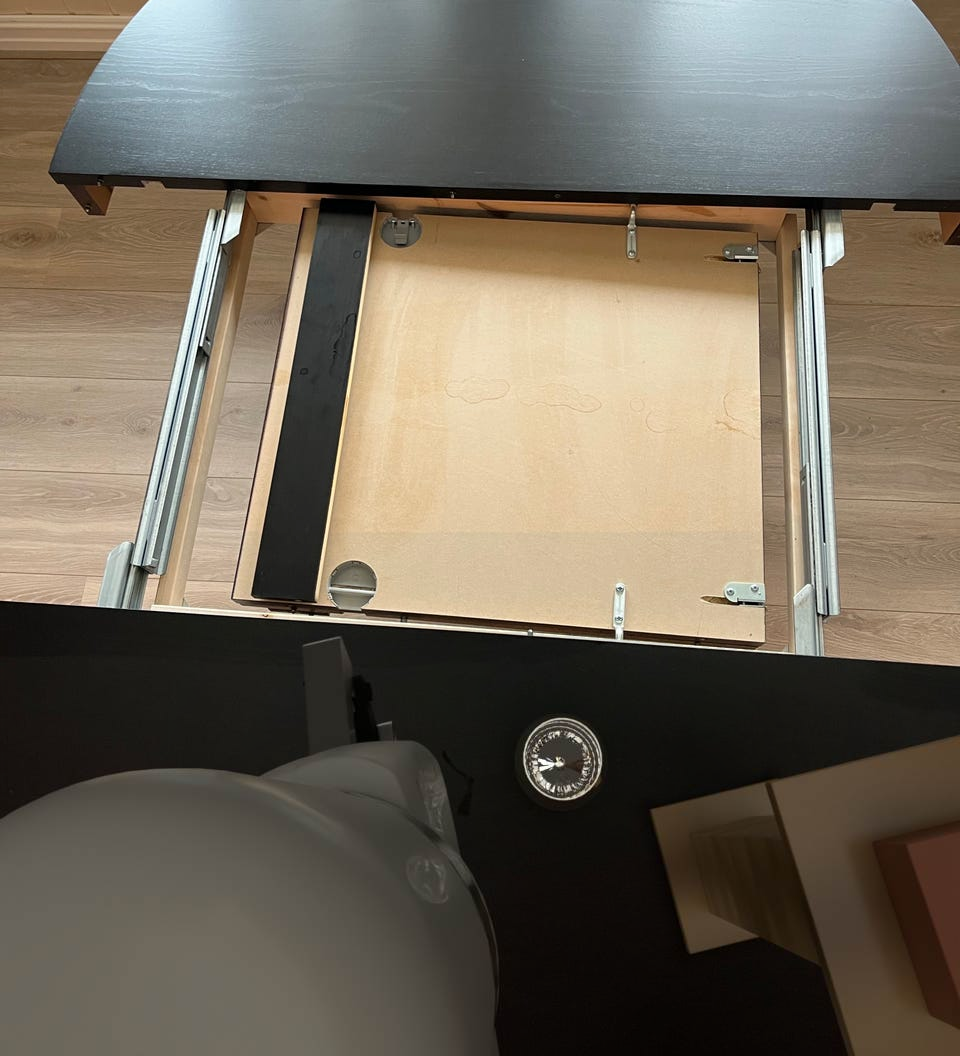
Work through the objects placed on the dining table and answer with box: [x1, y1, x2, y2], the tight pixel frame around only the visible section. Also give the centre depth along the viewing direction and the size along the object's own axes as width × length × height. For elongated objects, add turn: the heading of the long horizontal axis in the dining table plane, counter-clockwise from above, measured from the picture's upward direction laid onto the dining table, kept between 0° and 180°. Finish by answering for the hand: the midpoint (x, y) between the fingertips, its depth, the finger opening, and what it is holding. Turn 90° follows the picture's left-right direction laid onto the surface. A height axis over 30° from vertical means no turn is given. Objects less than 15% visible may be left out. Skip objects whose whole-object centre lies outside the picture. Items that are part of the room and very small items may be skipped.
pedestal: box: [649, 734, 960, 1056], centre depth 52 cm, size 10×10×41 cm
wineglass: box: [513, 712, 609, 812], centre depth 68 cm, size 6×6×12 cm
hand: (402, 916), depth 38 cm, fingers open, 9 cm apart
